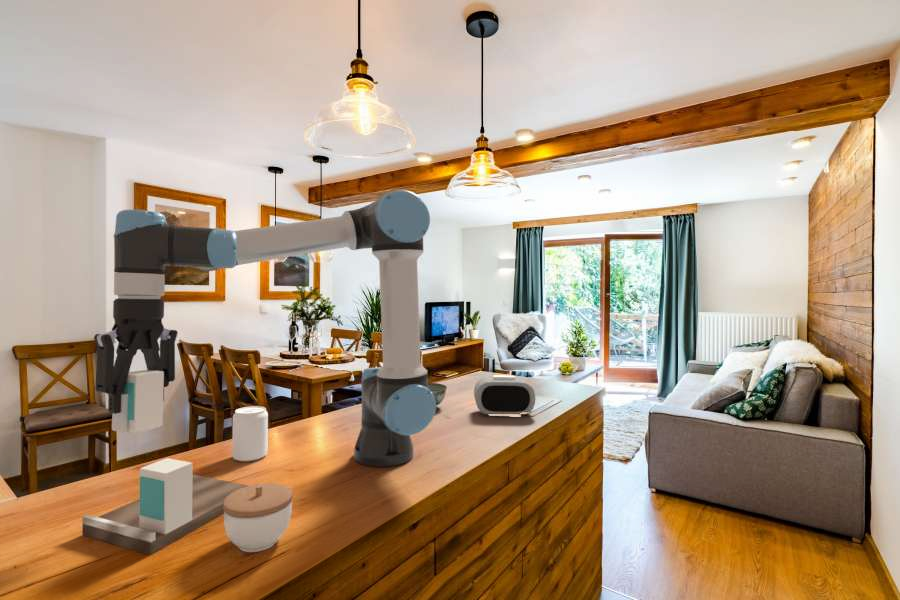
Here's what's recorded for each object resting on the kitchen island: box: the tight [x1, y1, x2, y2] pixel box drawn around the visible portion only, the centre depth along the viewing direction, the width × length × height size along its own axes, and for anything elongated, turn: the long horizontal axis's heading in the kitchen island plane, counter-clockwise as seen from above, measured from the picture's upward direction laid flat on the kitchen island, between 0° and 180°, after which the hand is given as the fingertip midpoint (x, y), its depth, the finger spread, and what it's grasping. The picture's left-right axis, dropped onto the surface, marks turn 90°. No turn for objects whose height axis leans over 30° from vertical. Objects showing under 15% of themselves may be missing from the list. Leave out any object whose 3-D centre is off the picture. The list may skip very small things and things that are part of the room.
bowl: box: [428, 382, 448, 407], centre depth 165 cm, size 14×13×8 cm
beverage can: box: [231, 405, 269, 462], centre depth 113 cm, size 8×8×12 cm
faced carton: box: [138, 457, 194, 534], centre depth 76 cm, size 5×6×10 cm
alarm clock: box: [473, 374, 536, 415], centre depth 158 cm, size 21×10×13 cm, turn 90°
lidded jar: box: [223, 482, 294, 553], centre depth 75 cm, size 11×11×9 cm
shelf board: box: [82, 474, 250, 556], centre depth 84 cm, size 16×22×3 cm
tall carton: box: [111, 368, 164, 434], centre depth 81 cm, size 5×6×10 cm
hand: (137, 425), depth 81 cm, fingers closed on tall carton, 5 cm apart
